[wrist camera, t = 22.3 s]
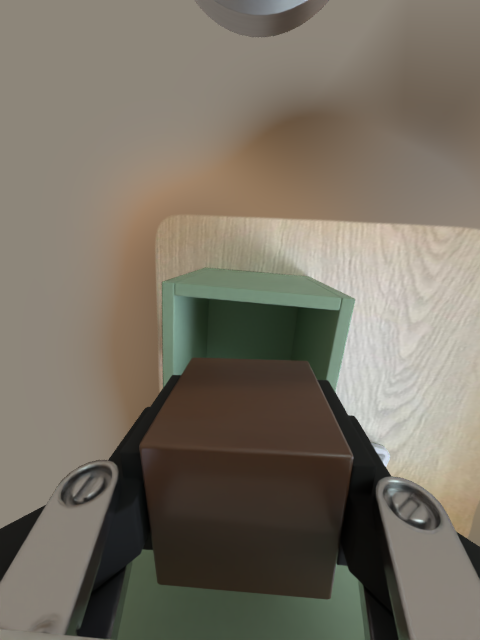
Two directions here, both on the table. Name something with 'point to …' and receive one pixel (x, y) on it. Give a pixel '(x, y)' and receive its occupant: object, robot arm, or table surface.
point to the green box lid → (235, 611)
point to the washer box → (253, 320)
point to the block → (246, 480)
